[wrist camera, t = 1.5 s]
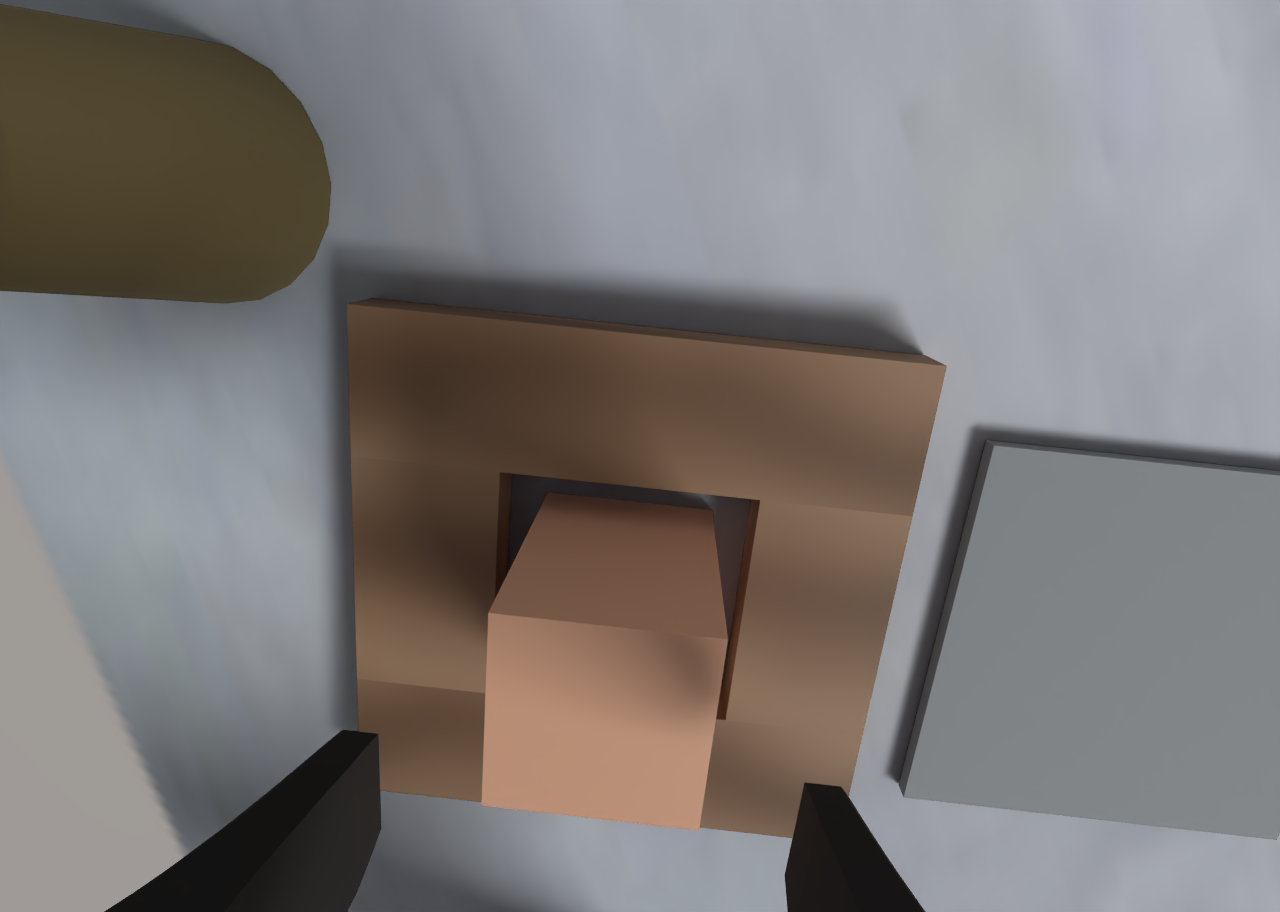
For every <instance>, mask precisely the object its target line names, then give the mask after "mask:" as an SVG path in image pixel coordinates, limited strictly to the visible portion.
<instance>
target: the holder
mask: <svg viewBox="0 0 1280 912" xmlns="http://www.w3.org/2000/svg"><path fill="white" fill-rule="evenodd" d="M346 306H347V342H348V377H349V413H350V449H351V484H352V520H353V555H354V591H355V626H356V662H357V697H358V731H359V732H367V733H376V734H379V769H380V791H389V792H398V793H406V794H415V795H424V796H432V797H441V798H450V799H458V800H467V801H476V802H482V778H483V750H484V721H485V693H486V665H487V636H488V613H489V611H490V608H491V606H492V604H493V602H494V600H495V598H496V596H497V594H498V592H499V590H500V588H501V586H502V584H503V582H504V580H505V578H506V576H507V574H508V552H509V529H510V506H511V483H512V474H521V475H531V476H540V477H549V478H559V479H568V480H577V481H587V482H596V483H605V484H615V485H624V486H633V487H643V488H652V489H661V490H671V491H680V492H689V493H699V494H708V495H717V496H727V497H736V498H745V499H751V504H750V510H749V517H748V523H747V530H746V536H745V543H744V549H743V556H742V562H741V569H740V576H739V582H738V589H737V595H736V602H735V608H734V615H733V621H732V628H731V634H730V641H729V647H728V654H727V660H726V667H725V673H724V680H723V686H722V687H721V689H720V696H719V702H718V709H717V716H716V722H715V729H714V735H713V742H712V748H711V755H710V761H709V768H708V775H707V781H706V788H705V794H704V801H703V807H702V814H701V821H700V827H701V828H710V829H718V830H727V831H736V832H744V833H753V834H762V835H770V836H779V837H788V838H793V834H794V829H795V825H796V820H797V815H798V811H799V806H800V801H801V796H802V792H803V787H804V782H806V783H815V784H824V785H832V786H841V787H842V788H843V790H844V791H845V792H846V794H847V795H848V796H849V792H850V788H851V783H852V779H853V774H854V770H855V766H856V761H857V757H858V752H859V748H860V744H861V739H862V735H863V731H864V726H865V722H866V717H867V713H868V709H869V704H870V700H871V695H872V691H873V687H874V682H875V678H876V674H877V669H878V665H879V660H880V656H881V652H882V647H883V643H884V639H885V634H886V630H887V625H888V621H889V617H890V612H891V608H892V603H893V599H894V595H895V590H896V586H897V582H898V577H899V573H900V568H901V564H902V560H903V555H904V551H905V547H906V542H907V538H908V533H909V529H910V525H911V520H912V516H913V511H914V507H915V503H916V498H917V494H918V490H919V485H920V481H921V476H922V472H923V468H924V463H925V459H926V454H927V450H928V446H929V441H930V437H931V433H932V428H933V424H934V419H935V415H936V411H937V406H938V402H939V398H940V393H941V389H942V384H943V380H944V376H945V371H946V367H947V366H946V365H944V364H942V363H940V362H938V361H936V360H934V359H932V358H930V357H928V356H926V355H917V354H908V353H898V352H888V351H878V350H869V349H859V348H849V347H840V346H830V345H820V344H811V343H801V342H791V341H782V340H772V339H762V338H752V337H743V336H733V335H723V334H714V333H704V332H694V331H685V330H675V329H665V328H656V327H646V326H636V325H626V324H617V323H607V322H597V321H588V320H578V319H568V318H559V317H549V316H539V315H529V314H520V313H510V312H500V311H491V310H481V309H471V308H462V307H452V306H442V305H433V304H423V303H413V302H403V301H394V300H384V299H374V298H371V299H367V300H362V301H358V302H353V303H349V304H346Z"/></svg>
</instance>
